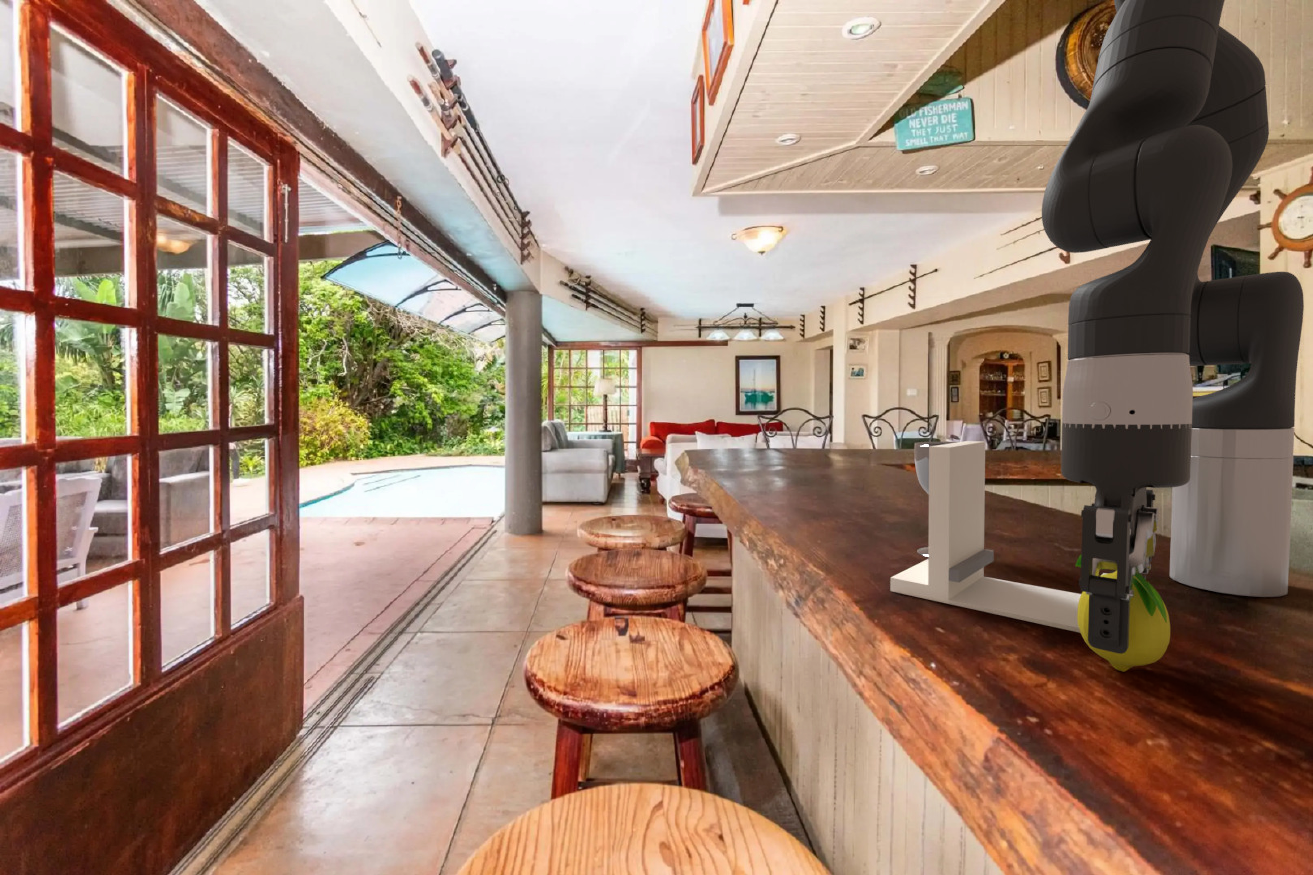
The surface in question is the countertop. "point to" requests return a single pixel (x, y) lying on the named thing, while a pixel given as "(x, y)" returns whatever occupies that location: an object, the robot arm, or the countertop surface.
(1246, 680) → the countertop surface
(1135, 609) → the lemon
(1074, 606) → the white lipped stand
